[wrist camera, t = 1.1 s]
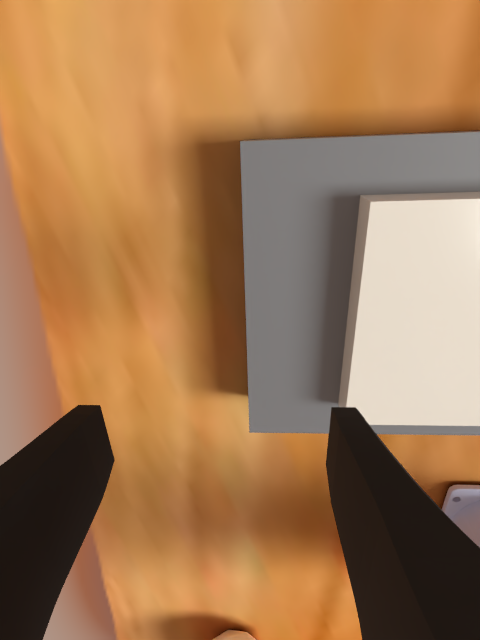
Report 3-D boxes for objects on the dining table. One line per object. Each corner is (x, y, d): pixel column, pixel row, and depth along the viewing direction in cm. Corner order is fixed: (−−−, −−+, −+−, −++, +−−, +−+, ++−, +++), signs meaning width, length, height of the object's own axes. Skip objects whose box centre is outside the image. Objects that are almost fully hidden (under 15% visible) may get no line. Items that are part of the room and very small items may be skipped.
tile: (483, 404, 18) (501, 426, 17) (338, 403, 18) (344, 424, 17) (554, 189, 14) (586, 195, 12) (360, 195, 14) (370, 201, 13)
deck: (528, 398, 21) (566, 436, 19) (251, 396, 22) (249, 432, 20) (636, 124, 15) (717, 122, 12) (243, 139, 16) (240, 141, 13)
